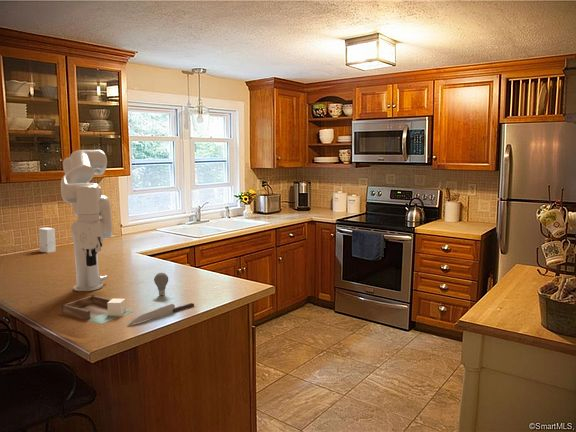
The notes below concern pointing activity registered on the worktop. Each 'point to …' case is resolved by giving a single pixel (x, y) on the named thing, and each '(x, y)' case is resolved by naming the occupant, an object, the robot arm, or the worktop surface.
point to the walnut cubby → (90, 309)
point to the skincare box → (47, 240)
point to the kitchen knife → (159, 312)
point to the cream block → (116, 307)
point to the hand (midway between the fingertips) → (91, 265)
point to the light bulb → (161, 282)
